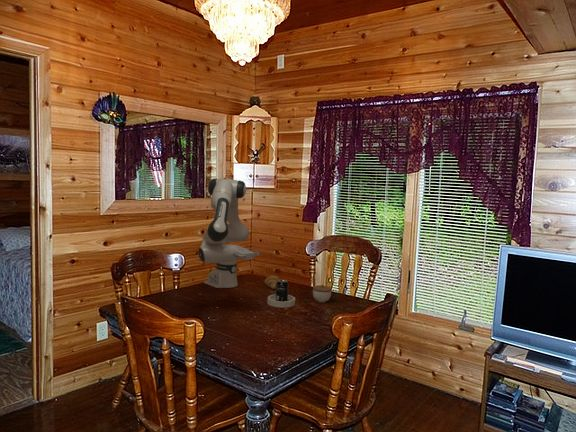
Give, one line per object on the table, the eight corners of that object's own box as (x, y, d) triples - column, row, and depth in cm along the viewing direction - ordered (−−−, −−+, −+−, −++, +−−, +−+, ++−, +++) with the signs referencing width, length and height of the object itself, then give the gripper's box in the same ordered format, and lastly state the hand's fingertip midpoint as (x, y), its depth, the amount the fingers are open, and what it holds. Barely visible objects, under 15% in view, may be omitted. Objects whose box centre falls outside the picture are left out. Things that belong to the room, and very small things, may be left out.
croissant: (277, 295, 260) (284, 284, 259) (263, 288, 258) (270, 277, 258) (275, 286, 280) (281, 275, 280) (262, 278, 279) (268, 268, 279)
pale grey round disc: (262, 303, 231) (262, 298, 230) (278, 297, 243) (278, 292, 242) (284, 309, 222) (284, 303, 222) (300, 303, 234) (300, 297, 234)
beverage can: (281, 299, 236) (282, 278, 235) (290, 302, 231) (291, 281, 230) (272, 301, 232) (273, 280, 230) (281, 304, 227) (282, 282, 226)
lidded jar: (324, 305, 233) (325, 288, 232) (308, 300, 239) (309, 284, 238) (334, 301, 241) (335, 285, 240) (318, 297, 248) (319, 281, 247)
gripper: (238, 250, 206) (263, 249, 212) (224, 243, 224) (248, 242, 230) (237, 263, 206) (263, 261, 213) (223, 255, 224) (247, 254, 231)
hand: (255, 251), depth 222 cm, fingers open, 8 cm apart
